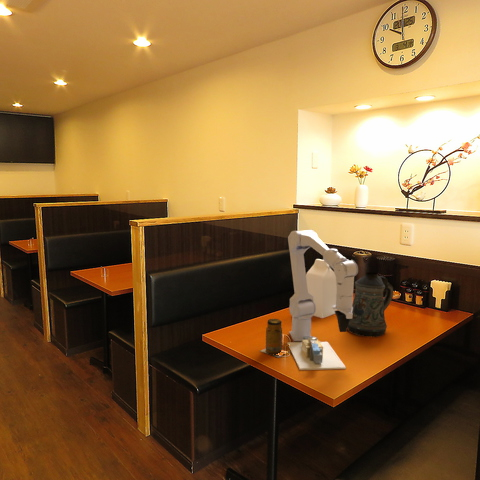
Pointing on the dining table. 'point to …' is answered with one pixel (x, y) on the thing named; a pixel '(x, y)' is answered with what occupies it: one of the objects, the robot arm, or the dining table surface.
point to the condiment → (273, 337)
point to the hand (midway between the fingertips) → (342, 331)
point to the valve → (308, 351)
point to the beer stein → (370, 306)
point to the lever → (314, 345)
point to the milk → (322, 288)
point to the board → (328, 361)
